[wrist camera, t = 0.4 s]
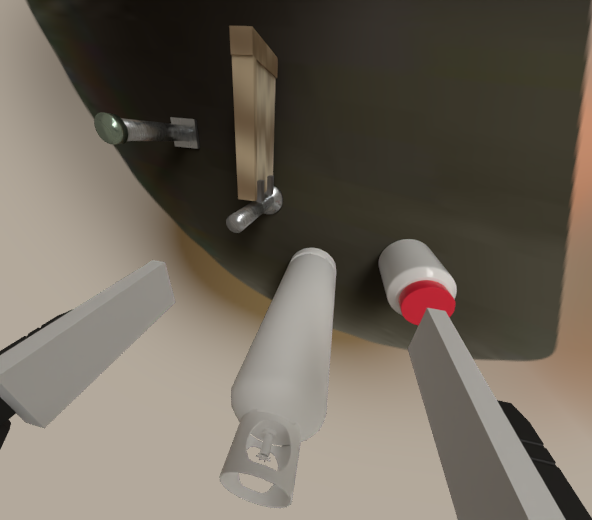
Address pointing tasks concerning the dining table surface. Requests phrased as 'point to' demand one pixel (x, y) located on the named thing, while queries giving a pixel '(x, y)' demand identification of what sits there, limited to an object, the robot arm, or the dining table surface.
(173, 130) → the latch post
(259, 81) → the gate
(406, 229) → the dining table surface
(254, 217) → the hinge post
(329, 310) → the bottle
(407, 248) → the pill bottle
